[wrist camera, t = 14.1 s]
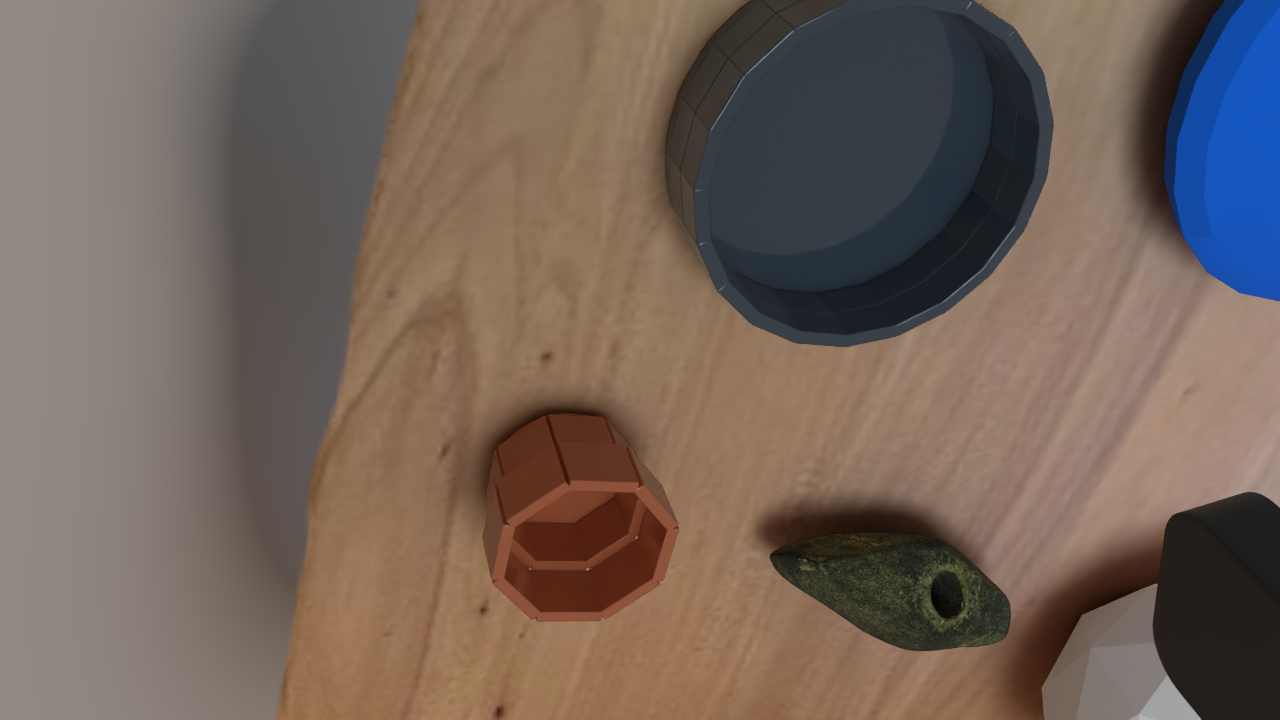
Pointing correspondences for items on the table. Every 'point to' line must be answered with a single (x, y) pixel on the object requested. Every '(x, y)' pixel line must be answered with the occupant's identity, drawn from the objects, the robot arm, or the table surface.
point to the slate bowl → (857, 161)
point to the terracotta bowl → (575, 520)
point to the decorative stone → (899, 588)
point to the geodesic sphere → (1114, 668)
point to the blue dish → (1231, 148)
